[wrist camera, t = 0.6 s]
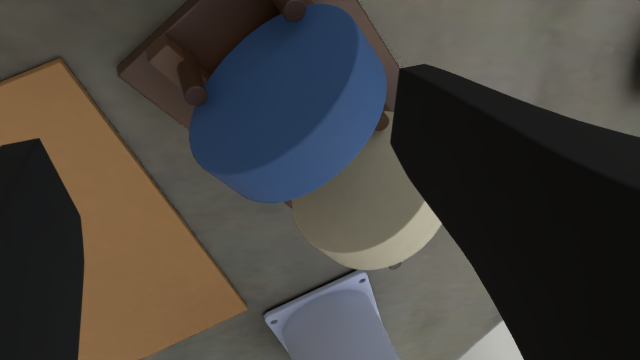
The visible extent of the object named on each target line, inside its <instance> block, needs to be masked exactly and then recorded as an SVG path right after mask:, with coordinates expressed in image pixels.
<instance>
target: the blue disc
mask: <svg viewBox="0 0 640 360" xmlns="http://www.w3.org/2000/svg"><path fill="white" fill-rule="evenodd" d="M205 87H206V90H207V93H208V98H207V100H206V102H205V103H204V104H202V105H200V106H195V108H194V111H193V114H192V118H191V122H190V130H189V141H190V148H191V151H192V153H193V156H194V158H195V159H196V161H197V162H198V164H199V165H200V166H201V167H202V168H203V169H205V170H206V171H208V172H209V173H210V174H212V175H213V176H215V177H216V178H218V179H219V180H220V181H222V182H223V183H225V184H226V185H228V186H229V187H230V188H232V189H233V190H235V191H236V192H238V193H239V194H241V195H242V196H244V197H245V198H247V199H250V200H253V201H257V202H263V203H277V202H284V201H289V200H292V199H295V198H299V197H301V196H303V195H306V194H308V193H310V192H312V191H314V190H316V189H317V188H319V187H321V186H323V185H324V184H326V183H327V182H328V181H330V180H331V179H333V178H334V177H335V176H336V175H338V174H339V173H340V172H341V171H342V170H343V169H345V168H346V167H347V166H348V165H349V164H350V162H351V161H352V160H353V159H354V158H355V157H356V156H357V155H358V154H359V152H360V151H361V150H362V149H363V147H364V146H365V145H366V143H367V141H368V140H369V138H370V137H371V135H372V134H373V132H374V130H375V128H376V126H377V124H378V122H379V119H380V117H381V114H382V111H383V108H384V104H385V100H386V91H387V82H386V74H385V70H384V66H383V64H382V62H381V60H380V58H379V57H378V55H377V54H376V52H375V51H374V49H373V48H372V46H371V45H370V43H369V42H368V40H367V39H366V37H365V35H364V34H363V32H362V31H361V29H360V28H359V26H358V25H357V23H356V22H355V20H354V19H353V18H352V16H351V15H350V14H349V13H347V12H346V11H345V10H343V9H341V8H339V7H337V6H333V5H329V4H310V5H306V13H305V15H304V17H303V18H302V19H301V20H300V21H298V22H289V21H287V20H286V19H285V18H284V16H283V15H282V14H280V15H278V16H276V17H274V18H272V19H271V20H269V21H267V22H266V23H264V24H263V25H261V26H260V27H258V28H257V29H256V30H254V31H253V32H251V33H250V34H249V35H248V36H247V37H245V38H244V39H243V40H242V41H241V42H240V43H239V44H238V45H237V46H236V47H234V49H233V50H232V51H231V52H230V53H229V54H228V55H227V56H226V57H225V58H224V59H223V61H222V62H221V63H220V64H219V65H218V67H217V68H216V70H215V71H214V72H213V74H212V75H211V77H210V78H209V80H208V81H207V83H206V85H205Z"/></svg>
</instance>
